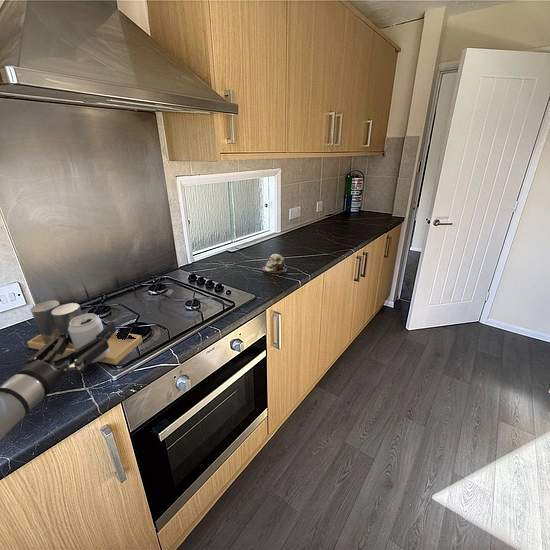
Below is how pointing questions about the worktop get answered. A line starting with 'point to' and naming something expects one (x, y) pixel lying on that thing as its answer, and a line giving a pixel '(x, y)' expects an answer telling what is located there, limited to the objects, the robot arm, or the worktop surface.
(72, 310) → the silver can
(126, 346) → the tray
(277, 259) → the skull
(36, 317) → the silver can
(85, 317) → the can
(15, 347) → the worktop surface
